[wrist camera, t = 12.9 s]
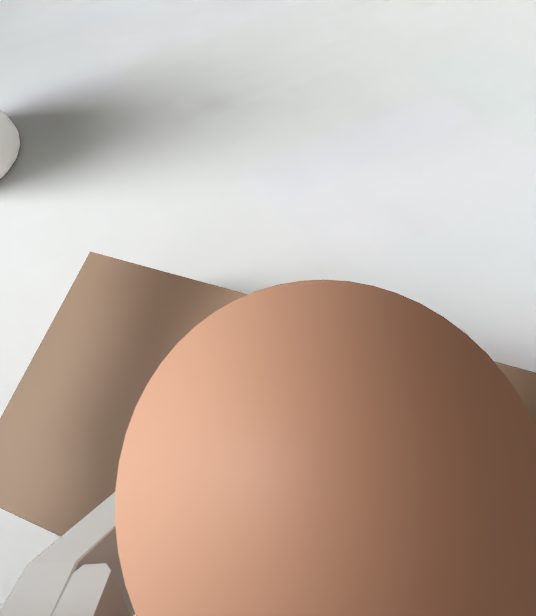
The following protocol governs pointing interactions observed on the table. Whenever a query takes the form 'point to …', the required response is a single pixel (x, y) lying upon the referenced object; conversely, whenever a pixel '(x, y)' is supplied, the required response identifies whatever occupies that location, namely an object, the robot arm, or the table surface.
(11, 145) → the white bottle
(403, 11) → the table surface
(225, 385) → the peg
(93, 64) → the table surface
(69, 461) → the socket block
